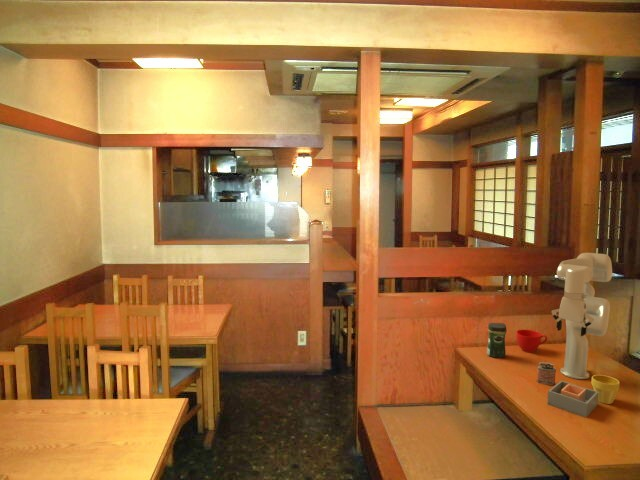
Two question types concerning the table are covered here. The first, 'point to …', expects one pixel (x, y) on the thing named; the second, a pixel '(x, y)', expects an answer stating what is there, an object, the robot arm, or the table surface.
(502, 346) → the coffee jar
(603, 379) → the plant pot
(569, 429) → the table surface
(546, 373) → the lighter
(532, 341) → the ceramic cup
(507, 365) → the table surface
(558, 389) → the grey crate
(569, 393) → the terracotta crate
